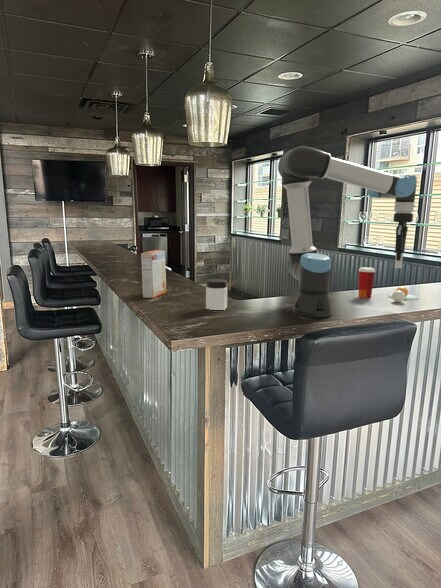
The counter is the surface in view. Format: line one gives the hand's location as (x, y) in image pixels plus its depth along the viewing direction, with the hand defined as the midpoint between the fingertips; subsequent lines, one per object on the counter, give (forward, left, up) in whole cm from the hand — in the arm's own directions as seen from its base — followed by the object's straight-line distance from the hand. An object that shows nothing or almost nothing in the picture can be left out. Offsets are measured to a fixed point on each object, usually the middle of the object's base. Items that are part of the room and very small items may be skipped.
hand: (398, 267), depth 180 cm
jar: (-59, -54, -17) cm, 82 cm away
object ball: (0, +16, -14) cm, 21 cm away
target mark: (0, +20, -16) cm, 26 cm away
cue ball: (+1, +6, -14) cm, 15 cm away
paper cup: (-15, +8, -17) cm, 24 cm away
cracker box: (-98, -49, -17) cm, 111 cm away
